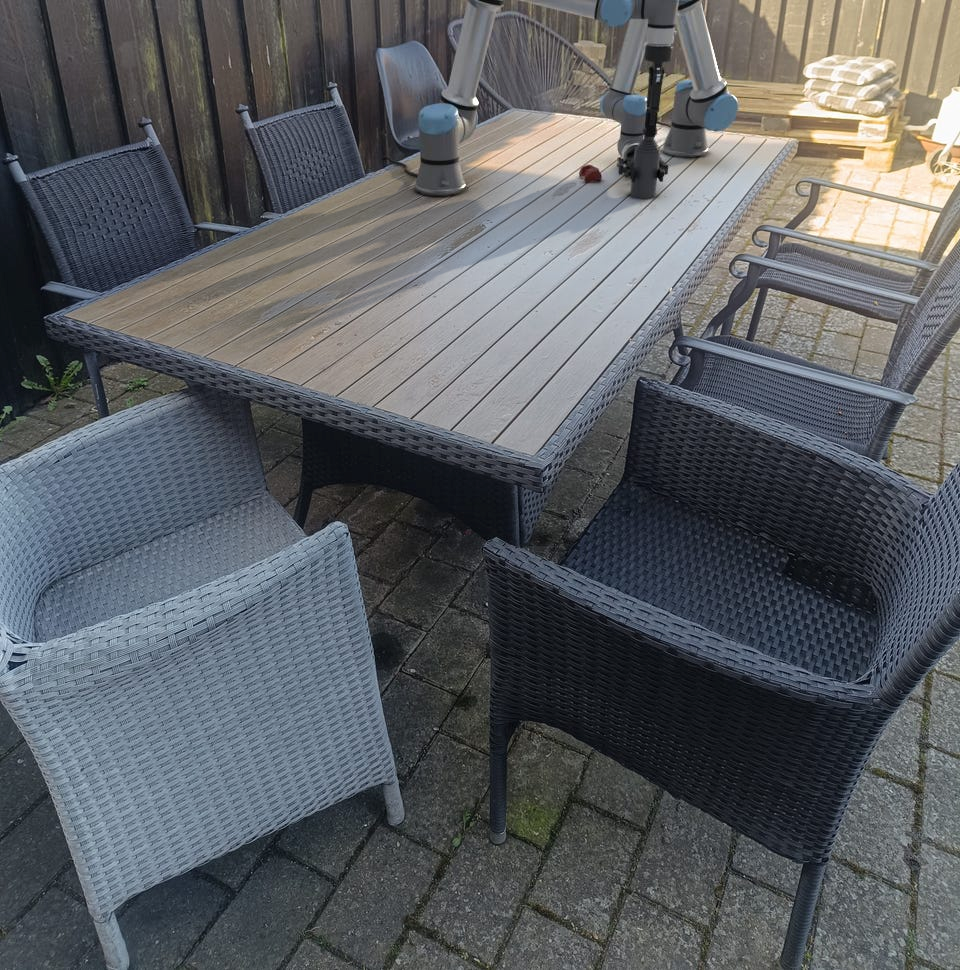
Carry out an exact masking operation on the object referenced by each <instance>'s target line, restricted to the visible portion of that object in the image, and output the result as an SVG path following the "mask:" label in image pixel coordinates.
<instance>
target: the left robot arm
mask: <svg viewBox="0 0 960 970" xmlns="http://www.w3.org/2000/svg"><path fill="white" fill-rule="evenodd" d="M466 1H467V3H466V7H465V12H464V15H463V20H462V24H461V29H460V33H459V38H458V42H457V46H456V51H455V55H454V59H453V64H452V69H451V73H450V77H449V80H448V86H447V88H445V89H443V90H441V94H440V98H439V103H432V104H429V105H425V106H424V107H422V108H421V109H420V111H419V113H418V122H417V124H418V136H419V138H418V139H419V157H420V158H419V159H420V161H419V162H420V164H419V168H418V172H417V173H414V172H412V171H410V170H409V167H408V164H405V163H403V162H401V161H397V160H394V159H393V158H391V157H390V156H388V155H384V156H383V157H382V159H381V161H386V160H387V161H389V163H391V164H394V165H396V166H400V167H403V168H404V173H405V174H407V175H409V176H412V177H414V178H416V180H415V183H414V184H415V185H414V186H415V192H417V193H418V194H420V195H424V196H430V197H450V196H455V195H459V194H461V193H463V192H464V191H466V181H465V179H464V176H463V172H462V169H461V165H460V144H462V143H463V142H464V141H466V140H468V139H469V138H470V137H471V136H472V135H473V134H474V132H475V130H476V129H477V126H478V120H479V119H478V118H479V117H478V116H479V115H478V107H479V104H480V103H479V100H478V98H477V96H476V95H477V90H478V87H479V83H480V78H481V74H482V70H483V66H484V63H485V58H486V56H487V55H486V54H487V51H488V47H489V42H490V39H491V35H492V32H493V31H492V30H493V27H494V23H495V20H496V19H495V18H496V15H497V12H498V10H499V9H501V8H503V7H504V5H505V1H506V0H466ZM518 1H519V2H524V3H527V4H532V5H537V6H539V7H543V8H548V9H552V10H557V11H560V12H564V13H568V14H573V15H576V16H580V17H585V18H589V19H593V20H596V21H599V22H603V23H605V24H606V25H607V26H609V27H620V26H623V25H624V24H626V23H627V22H628V21H630V19H648V26H647V33H646V43H647V45H646V46H645V54H644V57H643V60H645V61H647V62H651V65H650V66H649V67H648V79H647V80H648V83H647V84H648V85H647V86H648V87H647V97H646V98H647V101H646V103H647V109H646V119H645V127H646V135H645V137H654V138H655V137H656V135H655V133H656V128H657V125H658V124H657V117H658V116H659V115H658V113H659V112H660V103H661V97H662V88H663V87H662V86H663V81H664V76H665V67H663V63H668V62H671V61H672V59H673V51H674V47H673V44H674V42H675V41H674V40H675V36H677V34H678V31H677V30H676V18H677V11H678V3H679V0H518Z"/></svg>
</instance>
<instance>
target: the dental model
mask: <svg viewBox="0 0 960 970" xmlns="http://www.w3.org/2000/svg"><path fill="white" fill-rule="evenodd" d="M578 177H579V178H583V177H584V178H583V181H584V182H587V183H588V182H598V181H602V180H603V179H602V178H603V176H602V173H601V171H600V169H599V167H595V166H594V165H593V164H584V165H582V166H581V167H580V169H579V172H578Z"/></svg>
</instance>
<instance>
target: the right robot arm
mask: <svg viewBox="0 0 960 970" xmlns="http://www.w3.org/2000/svg"><path fill="white" fill-rule="evenodd" d="M702 1H703V0H679V3H678V11H677V18H676V26H675V28H676V31H677V34H678V37H679V41H680V46H681V49H682V52H683V56H684V60H685V64H686V67H687V70H688V71H687V72H688V74H689V78H690V79H687V80H686V79H685V80H680V81H678V82H677V83H676V85H675V89H674V99H673V107H672V117H671V124H668V123H663V122H660V121H659V120H660V116H659V115H657V124H656V125H659V126H663V127H668V128H670V129H669V131H668V134H667V135H666V138H665V140H664V142H663V146H662V152H663V153H665V154H666V155H669V156H673V157H679V158H701V157H705V156H706V155H707V154H708V150H709V146H708V138H707V133H706V130H707V131H709V132H715V133H716V132H717V133H718V132H722V131H724V130H727V129H728V128H729V127H730V126H731V125H732V124H733V123H734V121H735V119H736V117H737V116H738V112H739V102H738V98H737V97H736V96H734V94H732V93H730V91H729V87H728V83H727V80H726V78H724V77H722V76H720V72H719V69H718V65H717V64H718V63H717V60H716V56H715V52H714V48H713V43H712V40H711V35H710V32H709V28H708V23H707V21H706V17H705V12H704V9H703V4H702ZM628 21H629V22H628V25H627V28H626V32H625V35H624V39H623V42H622V44H621V45H622V46H621V49H620V53H619V56H618V60H617V62H616V67H615V69H614V72H613V77H612V79H611V83H610V87H609V89H608V92H607V93H605V94H603V96H602V98H601V99H600V101H599V110H600V112H601V113H602V114H603V116H604V117H606V118H607V119H609V120H612V121H614V122H617V123H619V124H620V133H619V138H618V140H617V145H616V146H617V148H616V149H617V152H618V155H619V156H618V157H617V158H616V167H617V169H618V175H620V176H621V175H623V174H624V178H626V179H627V178H629V179H630V180H631V183H632V182H635V176H636V172H635V170H634V168H633V163H634V153H635V149H636V147H637V146H638V144H640V142H642V140H643V139H644V135H643V134H642V131H643V128H644V127H645V119H646V109H647V103H646V101H647V97H646V96H645V95H641V94H633V92H634V90H635V86H636V82H637V79H638V77H639V73H640V70H641V66H642V64H643V60H644V55H645V46H646V45H648V44H647V43H646V33H647V26H648V19H629V20H628ZM669 167H670V165H669V164H667V163H666V162H665V161H664V160H662V157H660V160H659V168H658V176H657V180H658V181H659V182H660V183H663V182H664V177H665V176H666V175H668V174H669Z"/></svg>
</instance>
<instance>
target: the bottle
mask: <svg viewBox="0 0 960 970" xmlns="http://www.w3.org/2000/svg"><path fill="white" fill-rule="evenodd" d="M660 158H661V147H660V146H659V145H658V142H656V140H655V137H645V135H644V138H643V140H642V142H640V144H638V146H637V147H636V149H635V153H634V163H633V168H634V170H635V172H636V176H635V182H632V181H631V183H630V193H629V194H630V196H631V197H632V198H636V199H640V200H646V199H647V200H648V199H652V198H653V199H654V198H655V197H656V192H657V184H658V178H657V176H658V168H659V160H660Z"/></svg>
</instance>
